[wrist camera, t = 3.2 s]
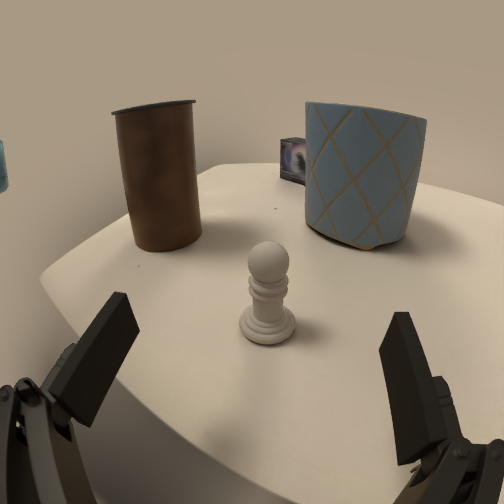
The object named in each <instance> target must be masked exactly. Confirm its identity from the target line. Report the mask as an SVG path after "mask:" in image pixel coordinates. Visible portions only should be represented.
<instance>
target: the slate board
mask: <svg viewBox="0 0 504 504" xmlns="http://www.w3.org/2000/svg"><path fill="white" fill-rule="evenodd" d="M195 102H196V100H182V101H170V102H162V103H154V104H148V105H142V106H136V107H131V108H126V109H123V110H119V111H115V112H112V115H116V114H119V113H123V112H128V111H133V110H139V109H145V108H151V107H158V106H165V105H174V104H184V103H195Z"/></svg>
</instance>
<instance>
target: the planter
mask: <svg viewBox="0 0 504 504" xmlns="http://www.w3.org/2000/svg"><path fill="white" fill-rule="evenodd" d="M305 109H306V110H305V112H306V182H305V219H306V223H307V224H308V225H309V226H311V227H312V228H314V229H315V230H317V231H319V232H320V233H322V234H324V235H326V236H328V237H331V238H333V239H336V240H338V241H341V242H344V243H346V244H349V245H352V246H354V247H357V248H359V249H362V250H371V249H373V248H374V247H376V246H378V245H382V244H387V243H391V242H395V241H397V240H399V239H400V238H402V236H403V235H404V233H405V231H406V228H407V224H408V220H409V216H410V212H411V208H412V204H413V200H414V196H415V191H416V186H417V182H418V177H419V172H420V167H421V161H422V154H423V148H424V141H425V133H426V125H427V120H426V119H424V118H420V117H416V116H412V115H408V114H403V113H399V112H394V111H388V110H383V109H377V108H370V107H364V106H357V105H356V106H355V105H348V104H338V103H327V102H306V103H305Z"/></svg>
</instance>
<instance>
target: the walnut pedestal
mask: <svg viewBox="0 0 504 504" xmlns="http://www.w3.org/2000/svg"><path fill="white" fill-rule="evenodd" d="M115 119H116V130H117V139H118V147H119V156H120V163H121V170H122V177H123V183H124V189H125V194H126V200H127V205H128V211H129V216H130V221H131V225H132V230H133V235H134V239H135V243H136V245H137V246H138V247H139V248H141V249H143V250H146V251H151V252H165V251H171V250H176V249H179V248H182V247H185V246H187V245H189V244H191V243H193V242H194V241H196V240H197V239H198V238H199V237H200V235H201V232H202V228H201V218H200V208H199V198H198V186H197V174H196V161H195V148H194V132H193V112H192V103H184V104H174V105H165V106H158V107H151V108H145V109H139V110H133V111H128V112H123V113H119V114H116V115H115Z"/></svg>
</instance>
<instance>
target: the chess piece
mask: <svg viewBox="0 0 504 504" xmlns="http://www.w3.org/2000/svg"><path fill="white" fill-rule="evenodd" d="M288 267H289V256H288V253H287V251H286V249H285V248H284V247H283V246H282V245H280V244H278V243H276V242H272V241H265V242H261V243H259V244H257V245H256V246H255V247H254V248H253V249H252V250H251V252H250V254H249V257H248V268H249V271H250V273H251V275H250V276H249V280H248V281H249V293H250V295H251V296H252V297H253V305H251V306H249V307H248V308H246V309H245V310H244V311H243V313H242V314H241V316H240V320H239V326H240V329H241V331H242V333H243V334H244V335H245V336H246V337H247V338H248V339H250V340H251V341H253V342H256V343H260V344H276V343H279V342H282V341H284V340H286V339H287V338H288V337H289V336H290V335H291V334H292V333H293V331H294V329H295V324H296V323H295V318H294V315H293V313H292V312H291V311H290V310H289V309H288V308H287V307H285V306H283V298H284V297H285V296H286V294H287V292H288V287H287V285H288V282H289V281H288V277H287V275H286V272H287V270H288Z"/></svg>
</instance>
